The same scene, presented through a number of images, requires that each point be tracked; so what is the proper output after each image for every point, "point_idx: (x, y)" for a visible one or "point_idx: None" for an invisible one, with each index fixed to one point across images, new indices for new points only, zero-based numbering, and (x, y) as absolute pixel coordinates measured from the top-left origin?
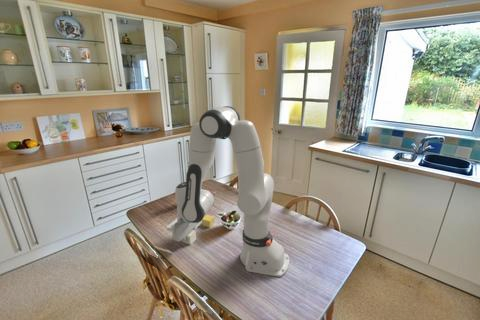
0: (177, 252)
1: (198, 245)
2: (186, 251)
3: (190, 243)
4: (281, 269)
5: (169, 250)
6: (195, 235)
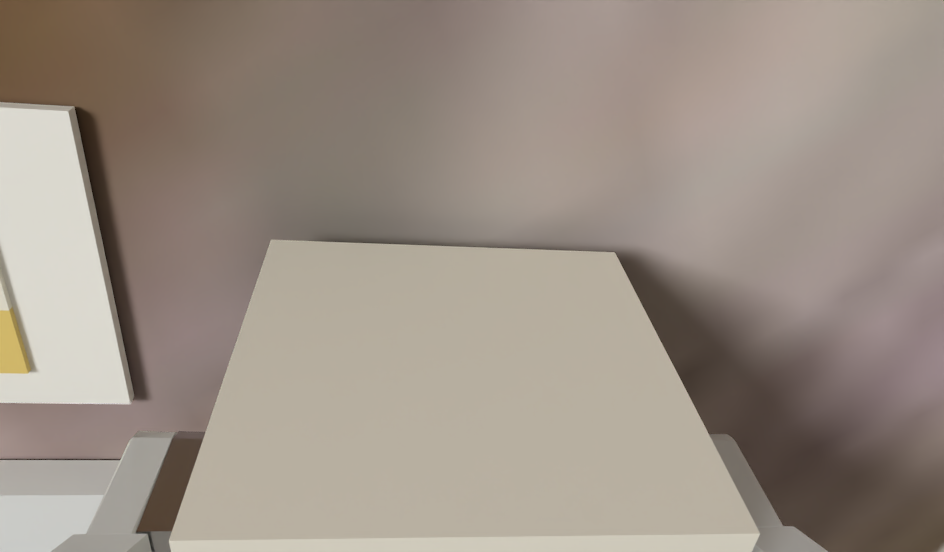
0: (896, 394)
1: (509, 5)
2: (852, 223)
3: (627, 287)
4: None
5: (835, 546)
6: (279, 348)
